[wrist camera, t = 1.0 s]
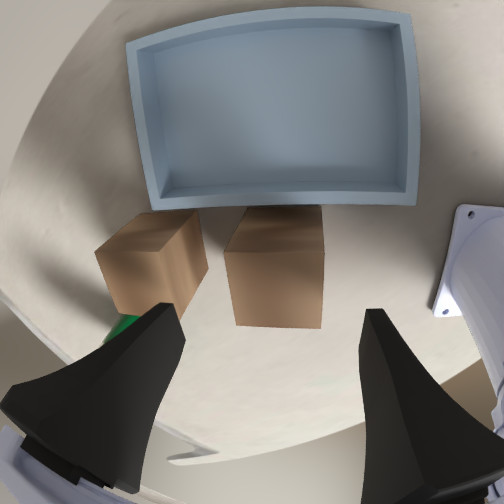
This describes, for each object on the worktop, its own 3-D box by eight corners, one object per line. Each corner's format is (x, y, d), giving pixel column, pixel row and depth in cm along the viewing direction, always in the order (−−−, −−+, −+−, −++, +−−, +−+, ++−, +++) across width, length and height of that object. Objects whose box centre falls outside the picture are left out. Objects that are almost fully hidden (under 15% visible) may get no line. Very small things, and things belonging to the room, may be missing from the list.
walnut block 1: (197, 209, 17) (158, 252, 12) (208, 268, 19) (179, 320, 14) (140, 213, 17) (94, 252, 13) (155, 267, 19) (118, 313, 15)
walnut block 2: (321, 206, 15) (324, 252, 11) (320, 269, 17) (320, 328, 13) (247, 207, 16) (223, 252, 12) (254, 269, 18) (236, 325, 14)
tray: (396, 25, 9) (410, 14, 7) (402, 190, 14) (416, 205, 12) (148, 48, 12) (125, 43, 10) (170, 196, 16) (152, 210, 14)
